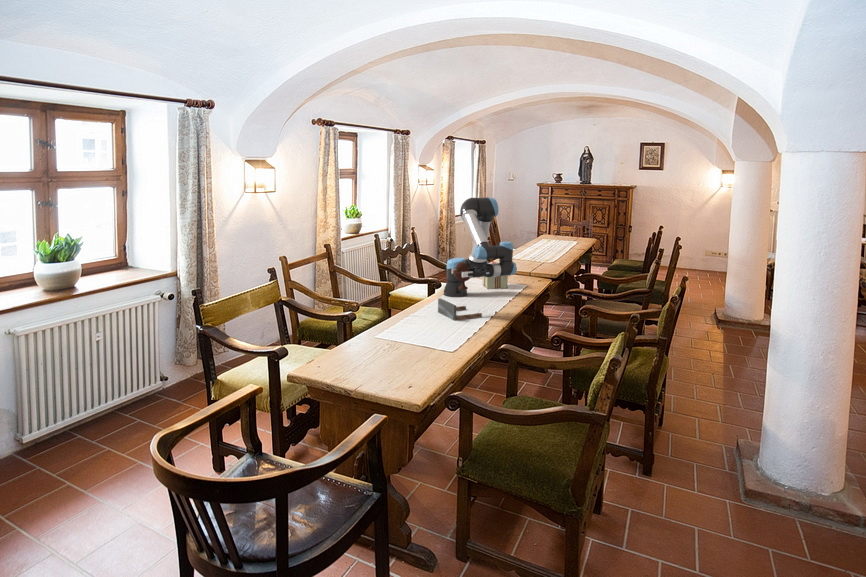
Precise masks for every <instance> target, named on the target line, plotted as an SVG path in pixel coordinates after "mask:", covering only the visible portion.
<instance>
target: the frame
mask: <svg viewBox="0 0 866 577" xmlns="http://www.w3.org/2000/svg"><path fill="white" fill-rule="evenodd" d="M437 302H438V303H437V313H439V314H441V315H443V316H445V317H447V318H449V319H451V320H453V321H459V320H467V319H476V318H482V316H483V313H482V312H478V313H470V314H461V315H460V314H459V315H457V311H465V310H466V311H467V306H466V305H461V306H457V305H456V304H454V303H452V302H449V301H447V300H446V299H443V298H442V297H441V298H439V297H438V298H437Z"/></svg>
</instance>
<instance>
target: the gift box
mask: <svg viewBox="0 0 866 577" xmlns="http://www.w3.org/2000/svg"><path fill="white" fill-rule="evenodd" d="M492 263H497V262H496V261H494V260H491V263H490V264H492ZM481 278H482V286H483V287H484V288H485V289H486V288H487V290H490V289H491V290H497V289H498V290H499V288H500V289H508V278H509V276H496V277H485V276H484V277H481Z"/></svg>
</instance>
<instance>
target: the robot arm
mask: <svg viewBox="0 0 866 577" xmlns="http://www.w3.org/2000/svg"><path fill="white" fill-rule="evenodd" d="M459 210H460V212H459V213H460V218H461V220H462V221H463V222H465V224H466V227H467V230H468V231H469V234H470V236H471V240H472V248H471V253H470V254H469V255H468V257H467V259H465V257H454V258H450V259H448V260H447V261H446V284H445V286H444V290H443V295H444V296H445V297H451V298H457V297H458V298H460V297H461V298H462V297H466V296H468V291H467V290H468V289H458V287H460V286H461V284H462V283H461V281H460V280H458V279H456V277H455V276H454V273H453V272H454V271H455V269H456V267H457V264H458V263H460V262H464V263H466V264H467V265H468V267H469V269H470V271H473V272H462V277H471V278H473V279H474V278H479V279H480V278H482V277H484V276H485V277H496V276H508V277H509V276H513V275H515V274H516V273H517V271H518V267H517V264H516V263H515V262H514V261H513V259H514V258H513V256H514V255H513V254H514V253H513V252H514V243H513V242H511V241H500V242H499V245H490V243H489V241H488V238H489V232H490V225H491V223H493V221H494V218H496V217H497V216H498V215H499V204H498V202H497V199H495V198H494V197H490V196H487V197H469V198H467V199H466V200H464V202H463V203H462V205H461V206H460V209H459ZM498 259H499V260H498ZM488 260H498V261H499V262H496V263H493V262H491V263H492V264H491V263H489V261H488ZM471 278H470V279H471Z"/></svg>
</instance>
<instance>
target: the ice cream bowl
mask: <svg viewBox="0 0 866 577" xmlns="http://www.w3.org/2000/svg"><path fill="white" fill-rule="evenodd" d="M462 272H473V271H470V269H469V267H468V265H467V264H466V263H464V262H460V263H458V264H457V267H456V269H455V271H454V272H453V273H454V276H455V277H456V279H458V280H460V281H461V283H462V284H461V286H460V287H458V289H467V290H468V289H469V287H468V286H466V284H465V282H466V281H469V280H470V279H471V277H462Z"/></svg>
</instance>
